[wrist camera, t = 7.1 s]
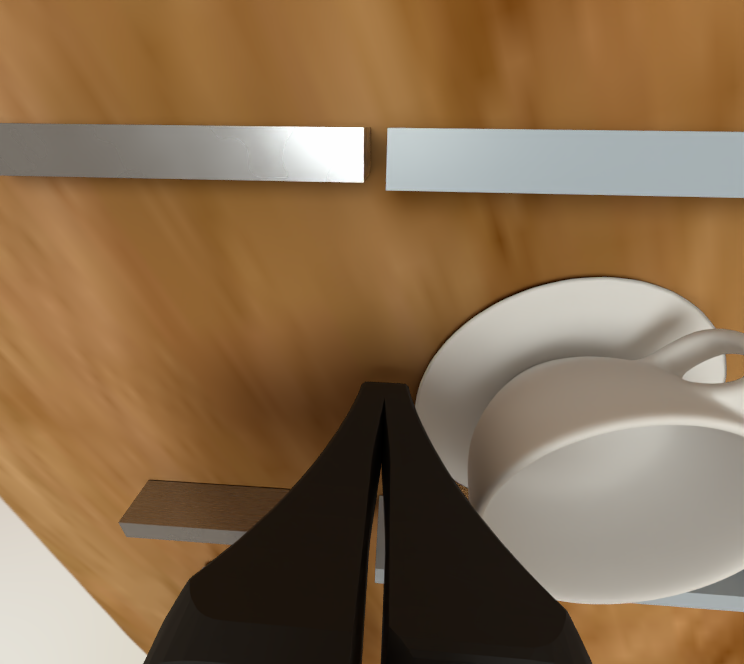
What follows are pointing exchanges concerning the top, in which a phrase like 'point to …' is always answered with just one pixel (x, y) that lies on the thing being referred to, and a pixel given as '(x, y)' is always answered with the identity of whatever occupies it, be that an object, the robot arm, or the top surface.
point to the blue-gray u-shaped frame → (573, 176)
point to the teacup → (597, 437)
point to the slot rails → (189, 161)
